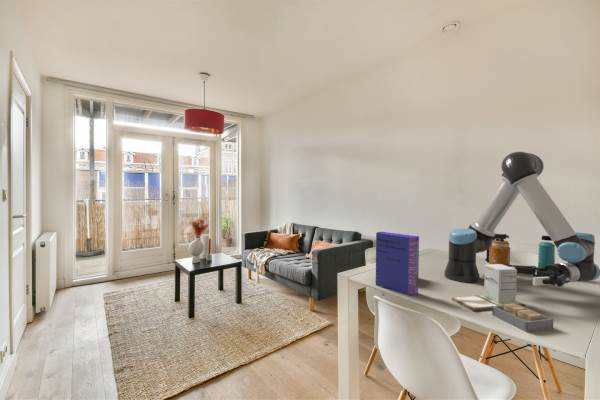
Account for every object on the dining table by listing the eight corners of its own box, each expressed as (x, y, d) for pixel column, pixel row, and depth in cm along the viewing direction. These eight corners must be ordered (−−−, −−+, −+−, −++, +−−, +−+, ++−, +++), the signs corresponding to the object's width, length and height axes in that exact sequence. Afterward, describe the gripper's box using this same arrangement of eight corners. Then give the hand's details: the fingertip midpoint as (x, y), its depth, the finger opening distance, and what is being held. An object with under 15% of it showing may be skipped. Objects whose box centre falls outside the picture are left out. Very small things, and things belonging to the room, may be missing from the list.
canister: (510, 274, 146) (511, 235, 146) (484, 270, 152) (485, 233, 151) (508, 269, 154) (509, 232, 153) (484, 266, 160) (485, 231, 159)
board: (451, 300, 111) (451, 297, 111) (498, 296, 116) (498, 293, 116) (474, 313, 101) (474, 308, 100) (525, 307, 105) (525, 303, 105)
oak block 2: (517, 322, 92) (517, 310, 92) (527, 321, 93) (528, 309, 93) (529, 328, 88) (530, 316, 88) (540, 327, 89) (540, 314, 89)
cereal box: (418, 293, 120) (419, 236, 119) (412, 296, 116) (413, 237, 115) (381, 282, 133) (382, 231, 132) (375, 285, 129) (376, 232, 129)
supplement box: (483, 295, 113) (484, 264, 112) (500, 295, 113) (501, 263, 113) (498, 303, 105) (499, 269, 105) (516, 302, 106) (517, 268, 105)
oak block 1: (503, 316, 97) (503, 304, 97) (513, 315, 98) (513, 303, 98) (514, 321, 93) (515, 309, 93) (524, 320, 94) (525, 308, 94)
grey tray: (492, 316, 98) (492, 306, 98) (516, 313, 100) (516, 303, 100) (526, 333, 86) (526, 322, 86) (553, 330, 88) (553, 319, 88)
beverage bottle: (557, 277, 141) (559, 237, 140) (542, 276, 142) (543, 236, 142) (549, 273, 147) (550, 235, 147) (534, 272, 149) (535, 234, 148)
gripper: (598, 293, 102) (550, 297, 98) (529, 273, 127) (488, 275, 122) (599, 272, 102) (550, 276, 98) (530, 256, 126) (489, 258, 122)
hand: (516, 276), depth 110 cm, fingers open, 13 cm apart
